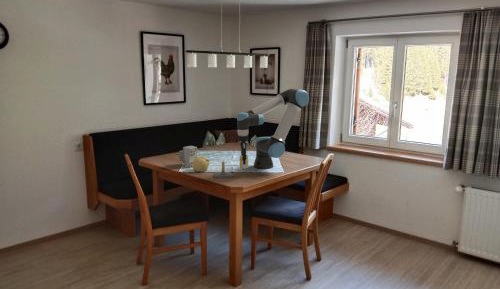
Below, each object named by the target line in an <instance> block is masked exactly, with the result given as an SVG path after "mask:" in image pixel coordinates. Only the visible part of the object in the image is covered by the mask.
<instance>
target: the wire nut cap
mask: <svg viewBox="0 0 500 289" xmlns="http://www.w3.org/2000/svg"><path fill="white" fill-rule="evenodd" d="M246 158H247V159H246V168H245V169H248V168H249V155H248V154H246ZM241 159H242V155H241V154H240V155H239V169H242V160H241Z"/></svg>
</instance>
